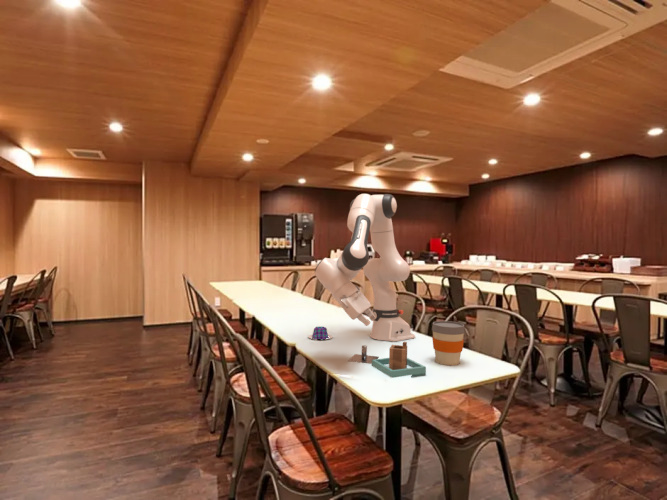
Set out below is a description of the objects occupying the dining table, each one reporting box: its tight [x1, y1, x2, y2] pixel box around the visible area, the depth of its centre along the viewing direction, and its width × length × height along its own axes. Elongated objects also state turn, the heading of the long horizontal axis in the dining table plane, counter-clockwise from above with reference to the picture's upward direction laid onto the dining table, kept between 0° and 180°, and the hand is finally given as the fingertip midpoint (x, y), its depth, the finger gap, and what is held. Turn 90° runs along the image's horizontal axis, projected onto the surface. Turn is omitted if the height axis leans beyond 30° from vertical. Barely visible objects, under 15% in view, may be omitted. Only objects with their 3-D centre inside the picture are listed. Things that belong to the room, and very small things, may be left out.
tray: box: [371, 357, 427, 378], centre depth 141 cm, size 14×14×3 cm
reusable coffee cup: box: [431, 320, 466, 366], centre depth 154 cm, size 13×13×15 cm
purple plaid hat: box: [307, 326, 333, 341], centre depth 189 cm, size 12×12×5 cm
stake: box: [348, 345, 380, 365], centre depth 152 cm, size 10×10×6 cm
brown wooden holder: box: [388, 341, 408, 370], centre depth 141 cm, size 6×6×10 cm
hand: (371, 322), depth 144 cm, fingers open, 8 cm apart
